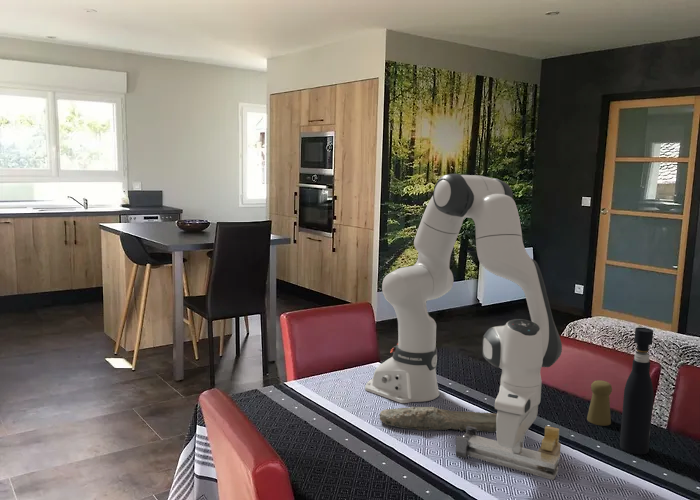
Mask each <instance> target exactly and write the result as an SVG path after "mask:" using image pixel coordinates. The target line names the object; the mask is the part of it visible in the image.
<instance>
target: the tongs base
mask: <svg viewBox="0 0 700 500" xmlns="http://www.w3.org/2000/svg"><path fill="white" fill-rule="evenodd" d="M467 431H472V432H473V433H474V435H476V436H478V435H477V434H478V431H477V428H475V427H471V426H467V427H466V430H465V433H466V432H467ZM455 438H456V439H455V440H456V442H455V457H459V458H462V459H467V458H468V457H469V458H470V457H471V458H474V459H477V460H482V461H484V462H488V463H491V464H496V465H498V466H502V467H506V468H509V469H513V470H516V471H520V472H523V473H527V474H530V475H533V476H538V477H540V478H545V479H548V480H552V481H554V480H555V479H556V477H557V475H558V473H559V466H558V467H557V469H556V471H555V472H554V473H553V472H550V471H546V470H545V467H542V466H539V465H535V464H531V463H528V462H524V461H520V460H517V459H513V458H509V457H506V456H502V455H498V454H495V453H491V452H487V451H483V450H480V449H476V448H472V447H469V446H467V438H465V437H462V435H456V437H455Z"/></svg>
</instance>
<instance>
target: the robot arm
mask: <svg viewBox="0 0 700 500" xmlns="http://www.w3.org/2000/svg"><path fill="white" fill-rule="evenodd" d="M513 196H514V194H513V190H512V188H511V187H510V185H509V183H507V182H506V181H503V180H501V179H498V178H492V177H488V176H484V175H478V174H474V175H473V174H471V175H470V174H459V173H449V174H444V175H442V176H441V177H439V178H438V179H437V182H436V183H435V185H434V187H433V193H432V196H431V198H430V199H429V201H428V203H427V205H426V207H425V210H424V212H423V214H422V218H421V220H420V223H419V226H418V229H417V232H416V233H415V234H416V235H415V237H414V240H413V246H414V248H415V250H416V251H417V255H418V256H417V261H416V262H415V263H414V264H413V265H410V266H403V267H399V268H396V269H394V270H393V271H391V272H389V273H388V274H386V275H385V276H384V278H383V280H382V285H381V289H382V294H383V296H384V299H385V300H386V301H387V302H388V303H389V304H390V305H391V306H392V307H393V309H394V311H395V316H396V319H397V331H398V332H397V333H398V335H397V336H398V340H397V343H396V345H395V346H393V347H392V348H391V349H390V352H389V353H390V354H392V356H390V358H388V359H386V360H385V361H383V362H382V363H380V364H379V365H378V366H377V367H376V368H375V370H374V372H373V377H372V378H371V379H370V380H369V381H367V382H366V384H365V386H364V387H365V388H364V389H365V391H367V392H369V393H373V394H375V395H378V396H381V397H382V398H386V399H388V400H392V401H395V402H397V403H400V404H406V403H407V404H408V403H414V402H415V403H417V402H418V403H420V402H421V403H422V402H429V401H433V400H435V399H437V398H438V397H439V396H440V389H439V385H438V379H437V369H436V367H437V362H438V349H437V347H436V345H437V343H436V341H437V323H436V321H435V319H434V318H433V317H431V316H430V314H429V312H428V309H427V301H432V300H436V299H439V298H441V297H443V296H444V295H446V294H447V293H449V292H450V291H451V290H452V288H453V286H454V275H453V272H452V270H451V269H450V264H451V255H452V252H453V249H454V247H455V244H456V241H457V238H458V236H459V233H460V231H461V227H462V225H463V222H464V220H465V218H468V219H469V218H470V219H471V220H473V222H474V227H475V247H476V254H477V258H478V262H479V263H480V264H481V266H482V267H483V268H484V269H485V270H486V271H488V272H489V273H491V274H493V275H494V276H497V277H500V278H503V279H506V280H508V281H511V282H513V283H514V284H516V285H517V286H519V287H520V288H521V289H522V291H523V293H524V296H525V300H526V303H527V308H528V311H529V317H530V320H528V319H524V318H514V319H511V320H508V321H507V322H506V323H505V324H504V325H497V326H492V327H489V328H488V329H487V330H486V331H485V333H484V335H483V336H482V339H481V353H482V357H483V358H484V359H485V360H486V362H488V363H489V364H490V365H492V366H493V367H495V368H499V369H501V375H500V385H499V389H498V390H499V392H498V393H497V395H496V398H495V401H494V410H497V413H496V414H497V417H496V432H495V433H496V434H495V436H496V441H497V442H498V444H499V445H500V446H503V447H507V448H511V449H512V452H514V453H519V452H520V451H521V449H522V448H524V441H525V439H526V438H525V437H526V435H527V431H528V430H529V428H530V427H532V425H533V423H534V422H535V421H536V419H537V417H538V411H539V410H538V409H539V405H540V403H541V398H542V376H541V369H542V368H550V367H552V366H553V365H554V364H555V363H556V362H557V361H558V359H559V358H560V356H561V355H562V351H563V345H562V340H561V337H560V334H559V331H558V329H557V327H556V323H555V321H554V317H553V313H552V310H551V305H550V301H549V297H548V294H547V293H548V292H547V289H546V285H545V282H544V278H543V275H542V271H541V269H540V266H539V264H538V262H537V261H536V260H535V259H533V258H531V256H530V255H529V253H528V252H527V250H526V248H525V245H524V242H523V241H524V240H523V233H522V226H521V225H522V224H521V220H520V215H519V211H518V210H519V209H518V207H517V205H516V202H515V200H514V198H513Z"/></svg>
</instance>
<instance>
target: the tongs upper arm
mask: <svg viewBox="0 0 700 500" xmlns="http://www.w3.org/2000/svg"><path fill="white" fill-rule="evenodd" d="M461 437H465V438H467V446H469V447H472V448H476V449H480V450H483V451H487V452H491V453H495V454H498V455H502V456H506V457H509V458H513V459H517V460H520V461H524V462H528V463H531V464H535V465H539V466H542V467H545V470H546V471H550V472H553V473H554V472H555V471H556V469H557V467H558V468H559V465H560V464H559V462H560V458H559V457H557V456H553V455H549V454H545V453H541V452H538V450H533V449H529V448H525V447H523V448H522V449H521V451H520V452H519V453H514V452H512V449H511V448H507V447H503V446H500V445H499V444H498V442H497V440H495V439H491V438H486V437H483V436H480V435H477V436H476V435H474V433H473V432H472V431H467V432H466V431H465V433H464V434H463V435H461Z"/></svg>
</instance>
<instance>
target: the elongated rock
mask: <svg viewBox="0 0 700 500" xmlns="http://www.w3.org/2000/svg"><path fill="white" fill-rule="evenodd" d="M379 413H380V414H379V420H380V421H381V422H382V423H383V424H385V425H386V426H392V427H396V428H403V429H410V430H412V429H414V430H418V431H419V432H420V431H430V430H431V431H432V430H433V431H440V430H441V431H445V430H447V431H448V430H450V429H451V430H455V431H456V430H459V431H460V432H463V431H466V427H467V426H471V427H475V428H477V432H485V433H496V417H497V413H494V412H479V411H478V412H477V411H476V412H475V411H463V410H462V411H459V410H449V409H442V408H438V407H435V406H410V407H397V408H386V409H383V410H382V411H380V412H379Z"/></svg>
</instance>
